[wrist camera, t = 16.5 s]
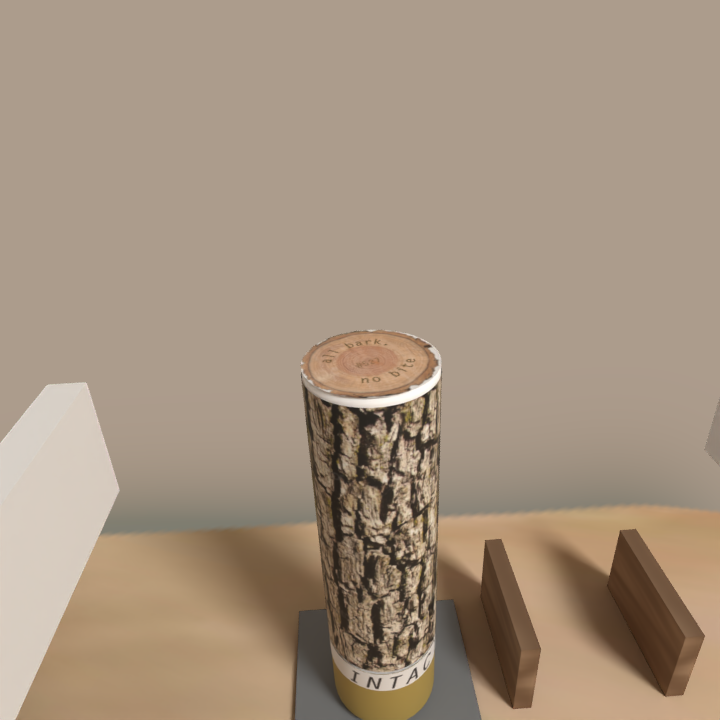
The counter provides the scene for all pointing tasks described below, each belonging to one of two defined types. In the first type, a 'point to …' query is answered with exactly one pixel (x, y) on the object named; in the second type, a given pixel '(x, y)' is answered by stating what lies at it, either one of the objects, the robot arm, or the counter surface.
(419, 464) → the paper tube
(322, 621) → the mat
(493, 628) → the board
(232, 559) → the counter surface
